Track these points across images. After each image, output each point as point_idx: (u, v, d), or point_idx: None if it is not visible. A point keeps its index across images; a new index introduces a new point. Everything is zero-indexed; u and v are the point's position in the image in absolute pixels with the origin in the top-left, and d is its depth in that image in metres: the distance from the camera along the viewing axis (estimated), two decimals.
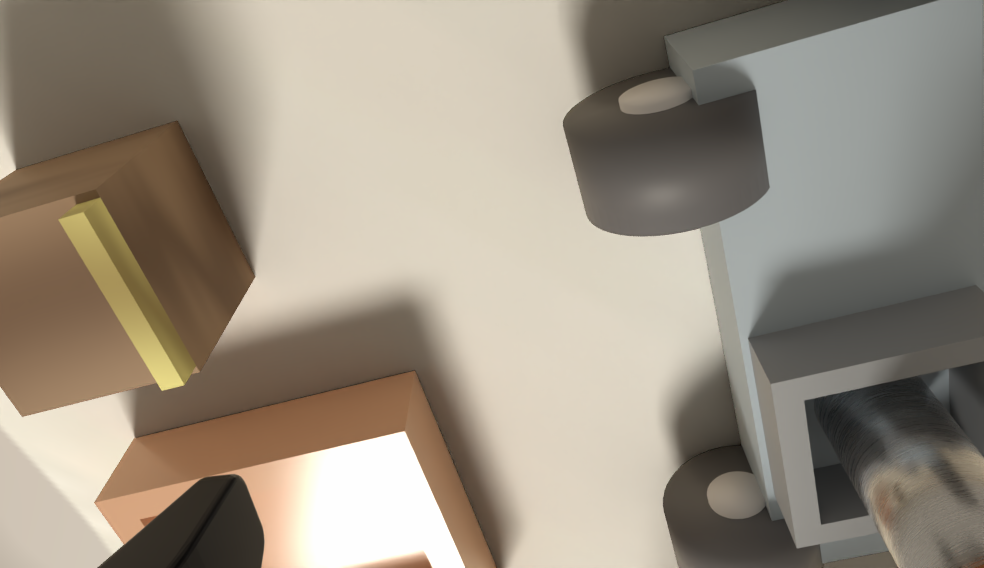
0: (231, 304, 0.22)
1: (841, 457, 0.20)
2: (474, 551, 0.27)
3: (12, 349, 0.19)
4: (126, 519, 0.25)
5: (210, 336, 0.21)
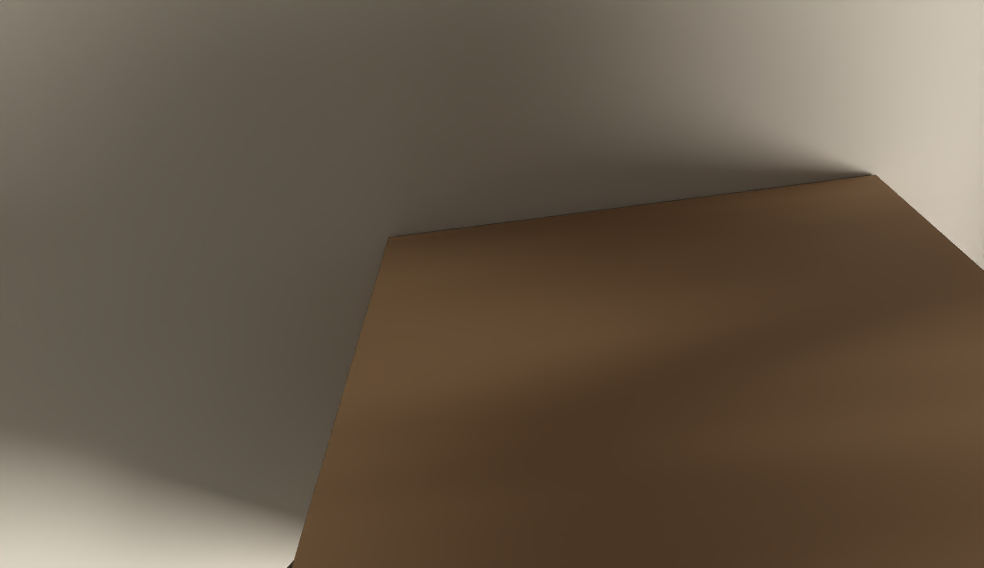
0: (953, 275, 0.06)
1: None
2: None
3: None
4: None
5: None
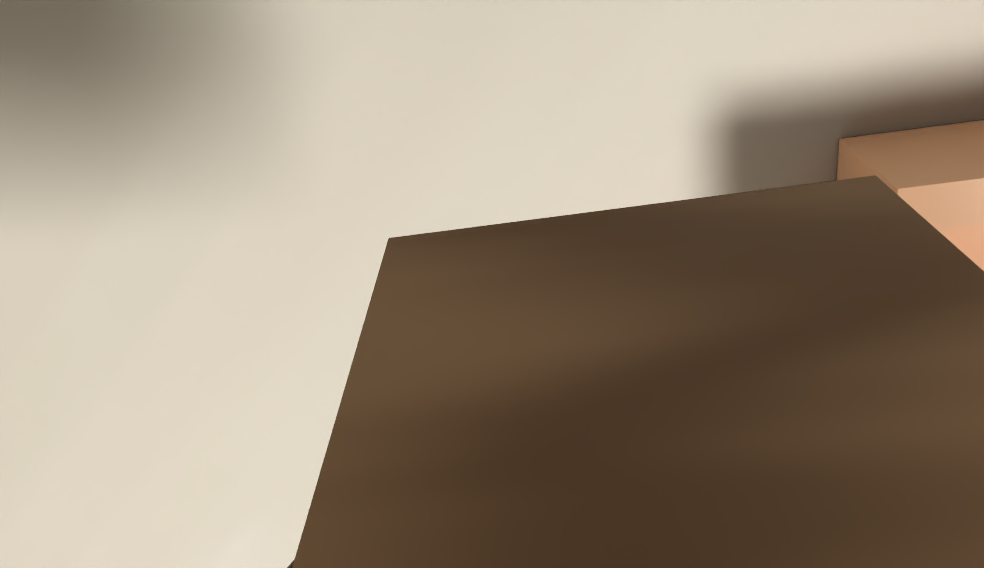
0: (954, 276, 0.06)
1: None
2: None
3: None
4: None
5: None
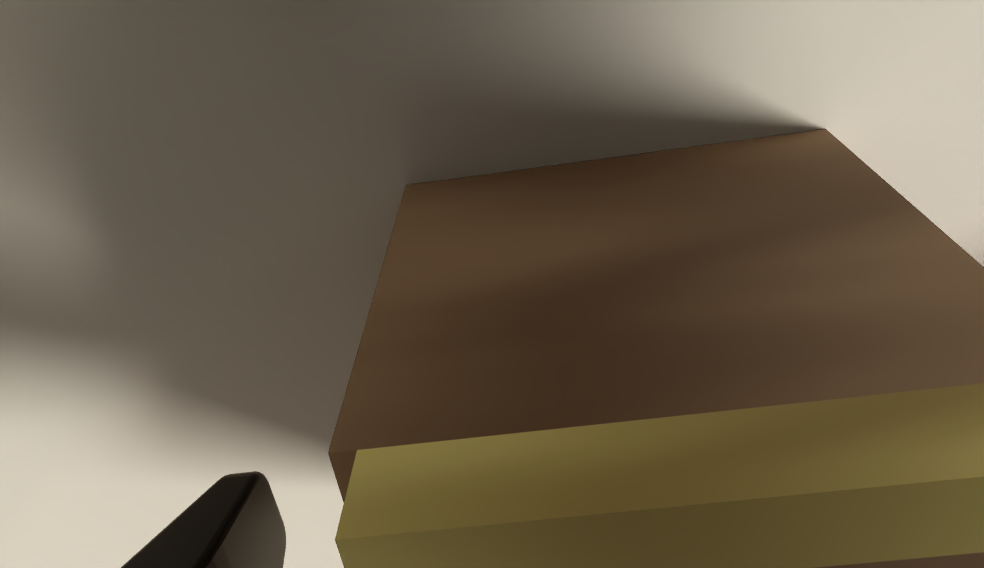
0: (874, 197, 0.08)
1: None
2: None
3: None
4: None
5: (959, 284, 0.06)
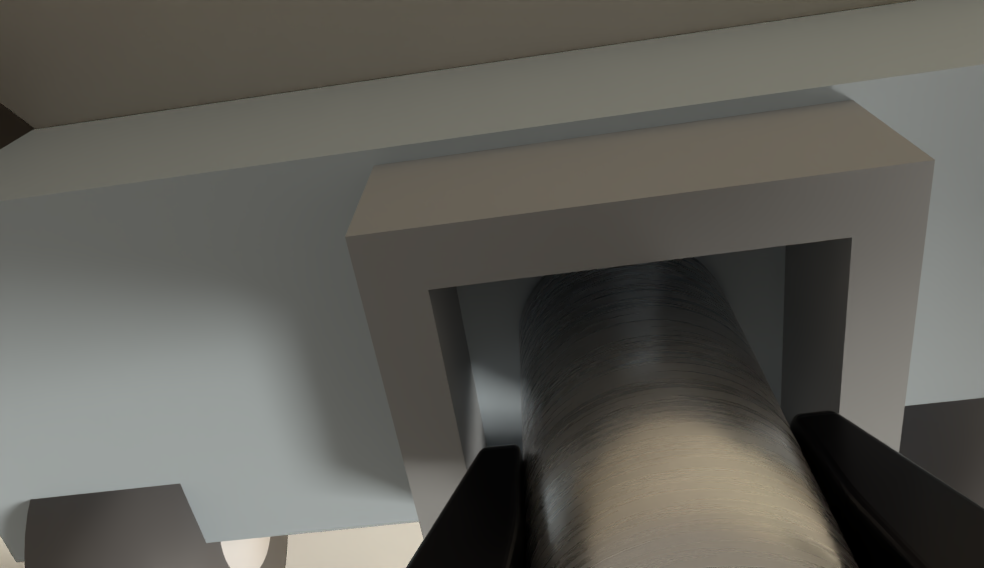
0: None
1: None
2: None
3: None
4: None
5: None
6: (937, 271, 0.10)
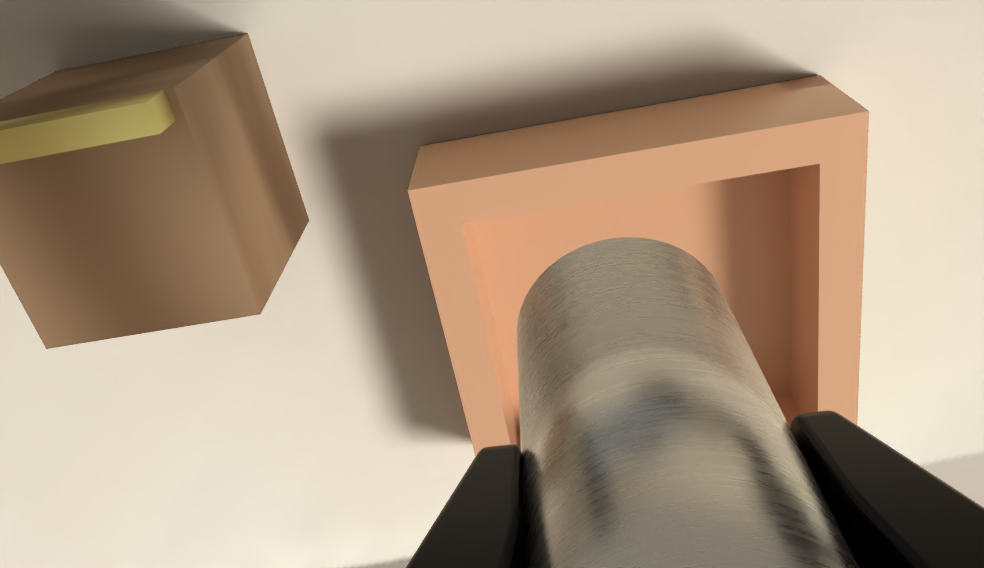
0: (211, 54, 0.18)
1: None
2: (691, 119, 0.18)
3: (163, 291, 0.17)
4: None
5: (181, 74, 0.16)
6: None
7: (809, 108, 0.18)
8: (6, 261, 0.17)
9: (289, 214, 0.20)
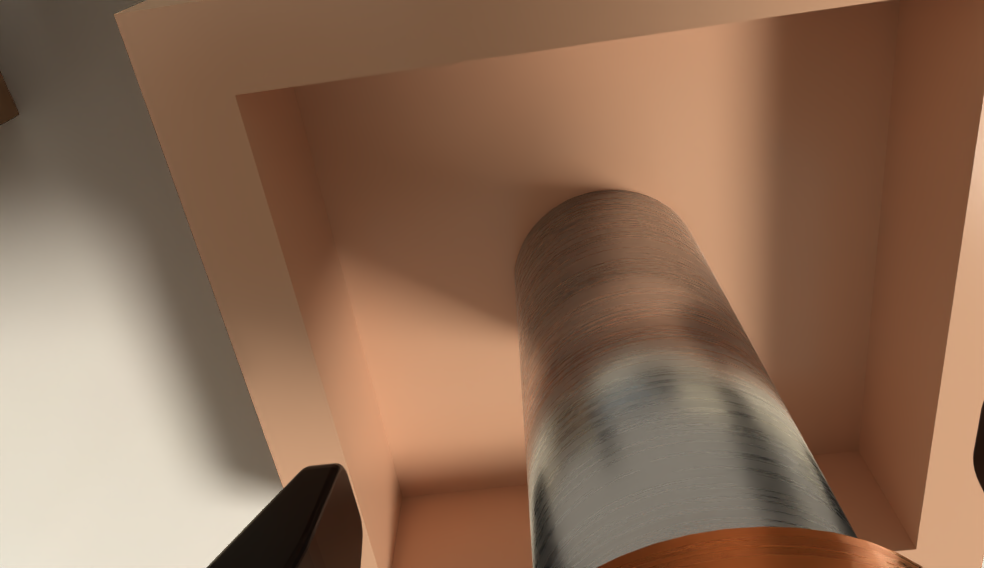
0: None
1: None
2: None
3: None
4: None
5: None
6: None
7: None
8: None
9: None
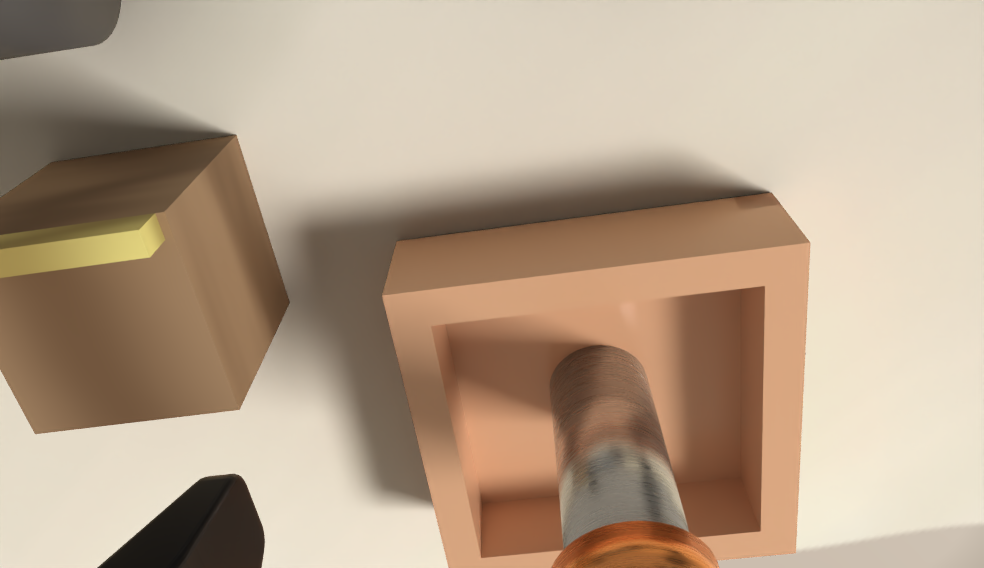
0: (201, 163, 0.19)
1: None
2: (649, 234, 0.20)
3: (147, 386, 0.18)
4: (479, 567, 0.23)
5: (172, 191, 0.17)
6: None
7: (757, 233, 0.19)
8: (0, 356, 0.18)
9: (270, 302, 0.21)
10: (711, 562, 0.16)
